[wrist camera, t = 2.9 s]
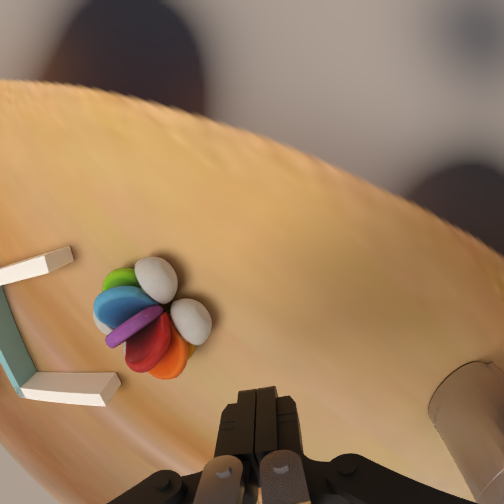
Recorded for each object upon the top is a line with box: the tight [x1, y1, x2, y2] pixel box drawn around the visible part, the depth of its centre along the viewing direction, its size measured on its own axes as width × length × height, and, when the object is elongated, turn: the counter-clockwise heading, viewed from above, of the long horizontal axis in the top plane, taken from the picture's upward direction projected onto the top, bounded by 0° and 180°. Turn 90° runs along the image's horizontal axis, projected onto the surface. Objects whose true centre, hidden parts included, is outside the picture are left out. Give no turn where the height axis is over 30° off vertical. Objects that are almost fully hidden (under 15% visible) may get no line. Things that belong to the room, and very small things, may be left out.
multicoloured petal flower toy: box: [93, 256, 212, 379], centre depth 22 cm, size 8×10×7 cm
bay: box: [0, 246, 121, 406], centre depth 25 cm, size 14×15×4 cm
